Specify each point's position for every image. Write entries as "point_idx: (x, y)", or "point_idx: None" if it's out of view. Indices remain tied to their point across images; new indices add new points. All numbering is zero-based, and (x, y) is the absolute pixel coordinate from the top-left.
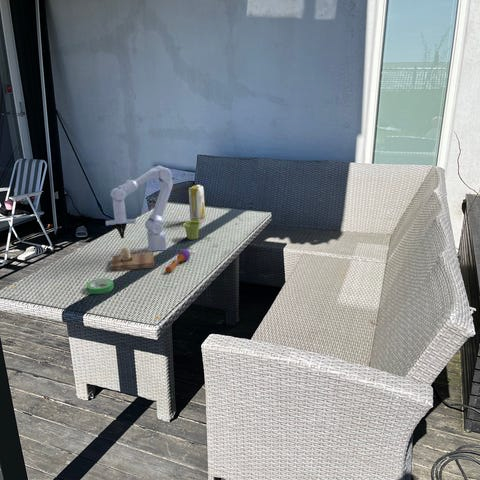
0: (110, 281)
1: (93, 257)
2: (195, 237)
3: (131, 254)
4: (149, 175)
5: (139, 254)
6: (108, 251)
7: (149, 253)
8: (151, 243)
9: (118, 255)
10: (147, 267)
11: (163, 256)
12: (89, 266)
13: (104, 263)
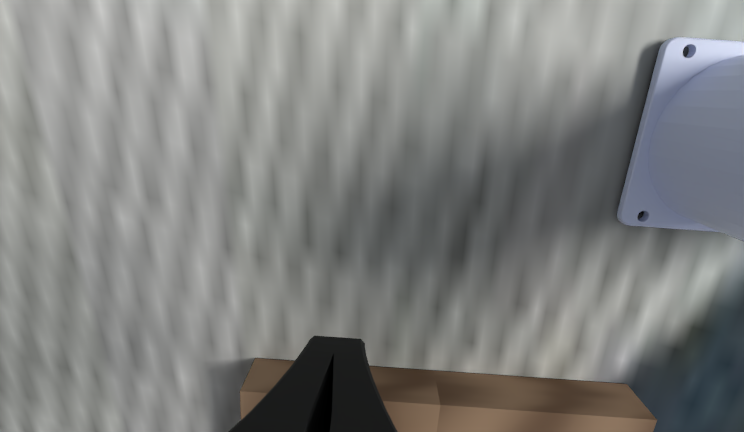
0: None
1: (39, 223)
2: None
3: (430, 406)
4: None
5: (509, 427)
6: (168, 71)
7: (612, 430)
8: (737, 236)
9: None
10: None
11: (717, 387)
12: (67, 425)
13: (183, 399)
